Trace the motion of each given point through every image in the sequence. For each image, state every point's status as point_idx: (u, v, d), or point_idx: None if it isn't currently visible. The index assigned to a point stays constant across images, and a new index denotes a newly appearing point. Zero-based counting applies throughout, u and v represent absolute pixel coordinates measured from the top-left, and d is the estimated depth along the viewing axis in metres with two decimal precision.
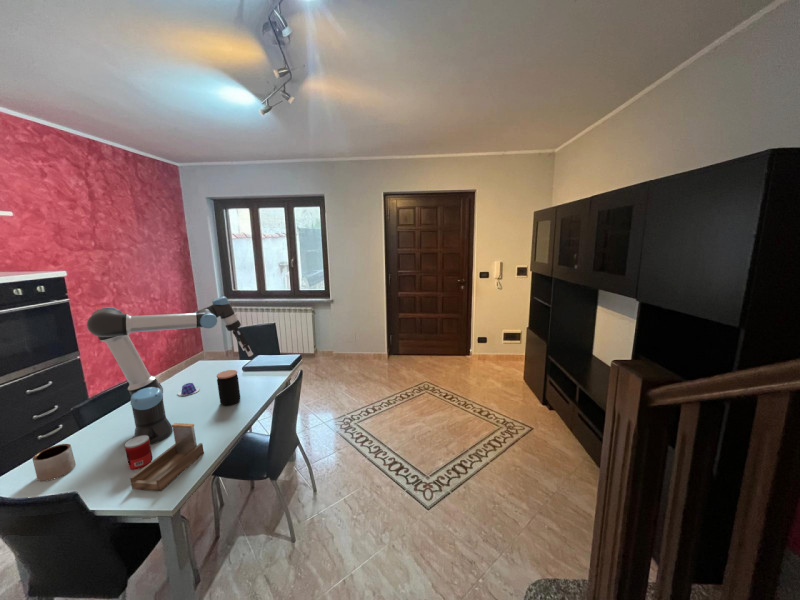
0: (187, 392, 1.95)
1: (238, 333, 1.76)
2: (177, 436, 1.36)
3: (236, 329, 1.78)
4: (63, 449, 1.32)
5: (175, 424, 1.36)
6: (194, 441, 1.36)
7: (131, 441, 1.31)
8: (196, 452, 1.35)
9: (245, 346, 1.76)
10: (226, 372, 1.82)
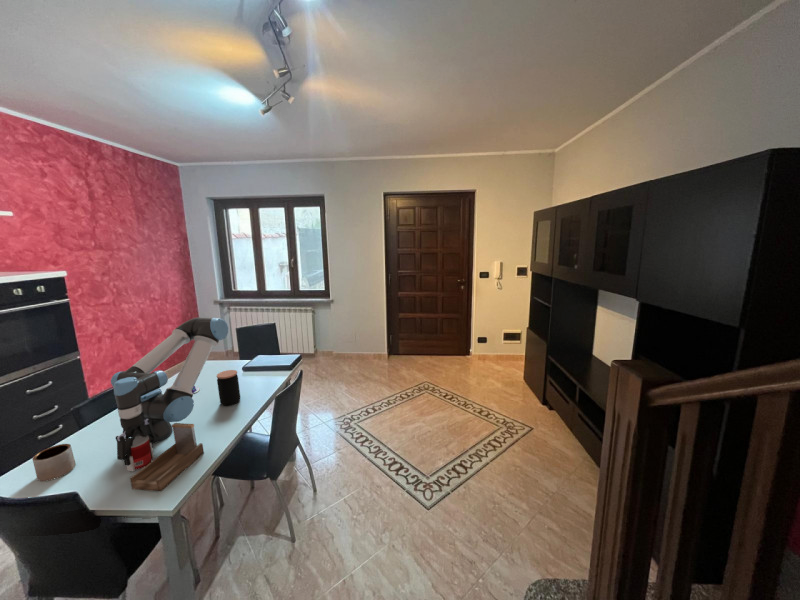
0: None
1: (118, 439, 1.24)
2: (177, 436, 1.36)
3: (124, 429, 1.26)
4: (63, 449, 1.32)
5: (175, 424, 1.36)
6: (194, 441, 1.36)
7: None
8: (196, 452, 1.35)
9: (118, 459, 1.25)
10: (226, 372, 1.82)
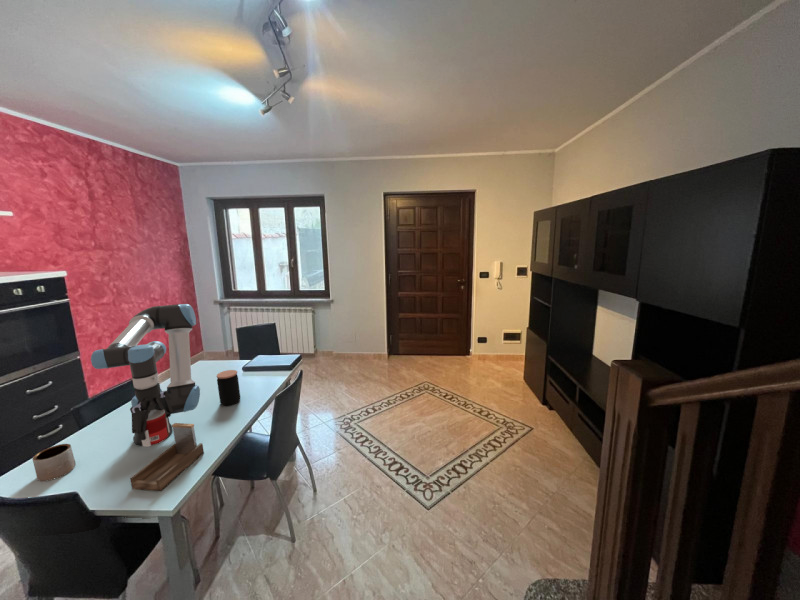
0: None
1: (132, 411, 1.14)
2: (177, 436, 1.36)
3: (139, 400, 1.16)
4: (63, 449, 1.32)
5: (175, 424, 1.36)
6: (194, 441, 1.36)
7: None
8: (196, 452, 1.35)
9: (133, 432, 1.14)
10: (226, 372, 1.82)
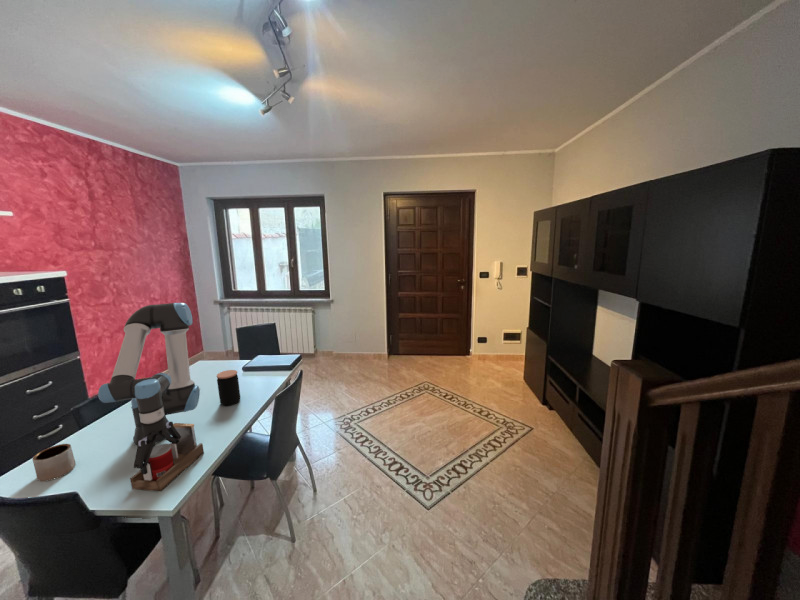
0: None
1: (138, 444, 1.16)
2: None
3: (146, 434, 1.18)
4: (63, 449, 1.32)
5: (175, 424, 1.36)
6: (194, 441, 1.36)
7: (153, 450, 1.24)
8: (196, 452, 1.35)
9: (135, 467, 1.15)
10: (226, 372, 1.82)
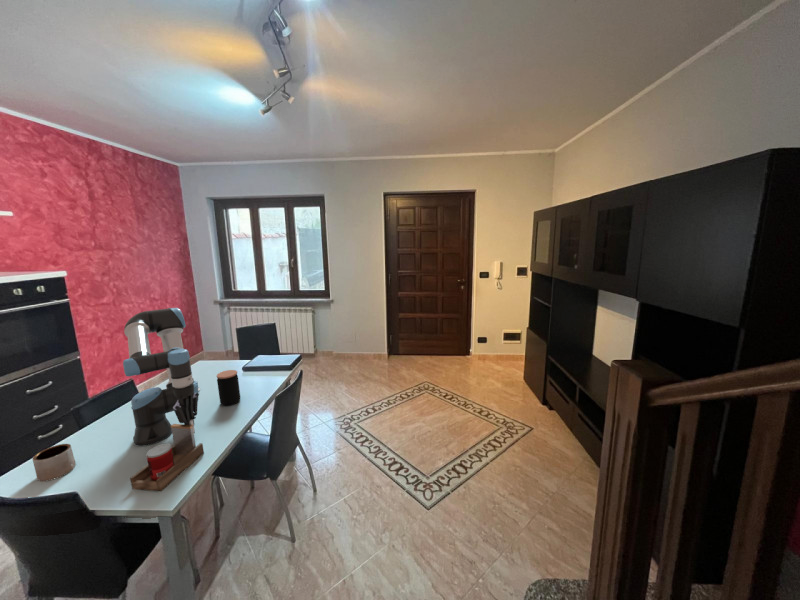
0: None
1: (174, 409, 1.31)
2: (176, 437, 1.36)
3: (177, 397, 1.33)
4: (63, 449, 1.32)
5: (174, 425, 1.35)
6: (193, 442, 1.35)
7: (153, 450, 1.24)
8: (196, 452, 1.35)
9: (180, 422, 1.35)
10: (226, 372, 1.82)
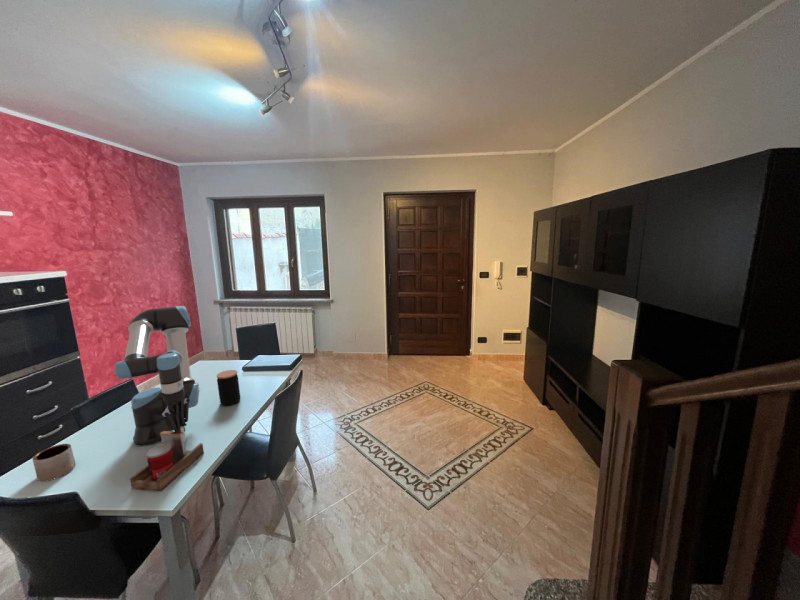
0: None
1: (163, 415, 1.26)
2: None
3: (167, 403, 1.27)
4: (63, 449, 1.32)
5: (163, 432, 1.30)
6: (183, 450, 1.30)
7: (153, 450, 1.24)
8: (196, 452, 1.35)
9: (170, 429, 1.30)
10: (226, 372, 1.82)
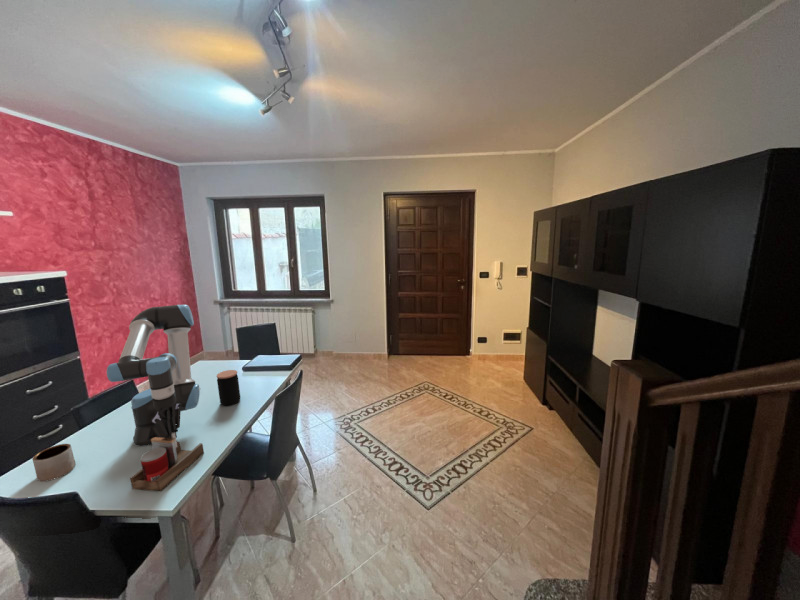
0: None
1: (153, 422, 1.22)
2: None
3: (157, 409, 1.23)
4: (63, 449, 1.32)
5: (154, 438, 1.26)
6: (175, 457, 1.26)
7: (147, 454, 1.22)
8: (196, 452, 1.35)
9: (161, 436, 1.26)
10: (226, 372, 1.82)
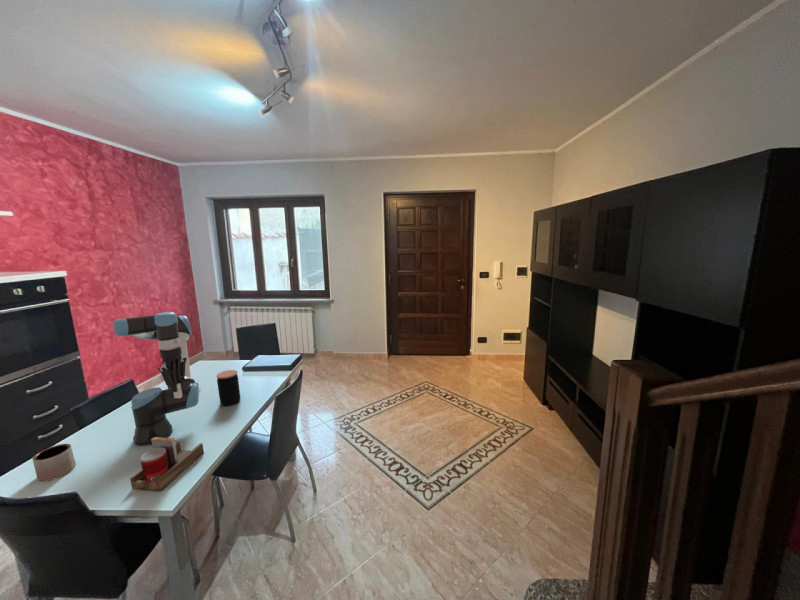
0: None
1: (161, 370, 1.32)
2: None
3: (164, 359, 1.33)
4: (63, 449, 1.32)
5: (155, 438, 1.26)
6: (175, 456, 1.26)
7: (147, 454, 1.22)
8: (196, 452, 1.35)
9: (167, 385, 1.35)
10: (226, 372, 1.82)
